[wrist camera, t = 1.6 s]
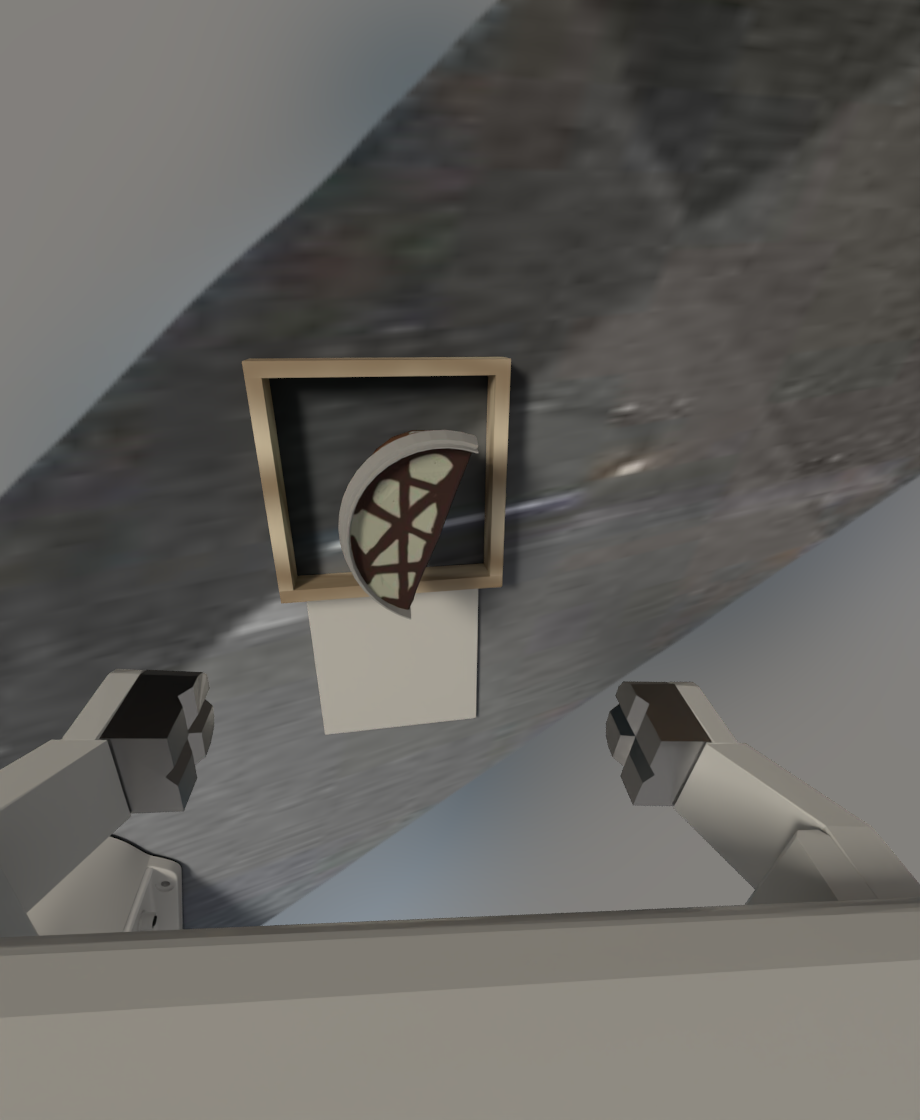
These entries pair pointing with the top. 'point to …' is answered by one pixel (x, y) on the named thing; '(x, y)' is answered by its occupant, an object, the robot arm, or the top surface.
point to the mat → (395, 660)
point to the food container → (401, 511)
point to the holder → (264, 369)
